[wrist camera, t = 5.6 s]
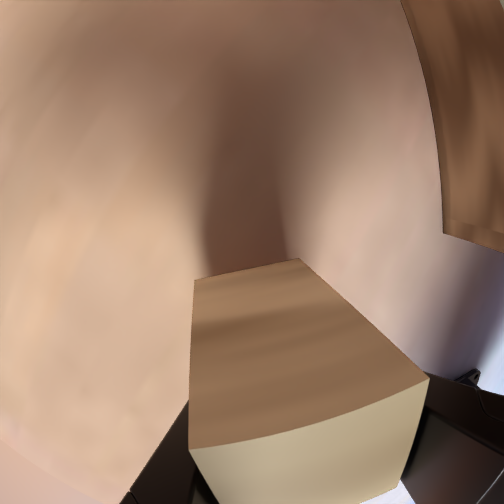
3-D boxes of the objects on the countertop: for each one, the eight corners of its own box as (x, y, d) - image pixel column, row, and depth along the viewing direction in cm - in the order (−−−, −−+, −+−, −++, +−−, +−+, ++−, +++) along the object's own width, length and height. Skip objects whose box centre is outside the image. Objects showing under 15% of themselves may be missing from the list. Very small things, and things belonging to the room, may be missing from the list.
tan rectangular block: (308, 345, 11) (396, 487, 5) (217, 367, 11) (240, 534, 4) (299, 258, 10) (429, 377, 4) (194, 279, 10) (188, 449, 3)
